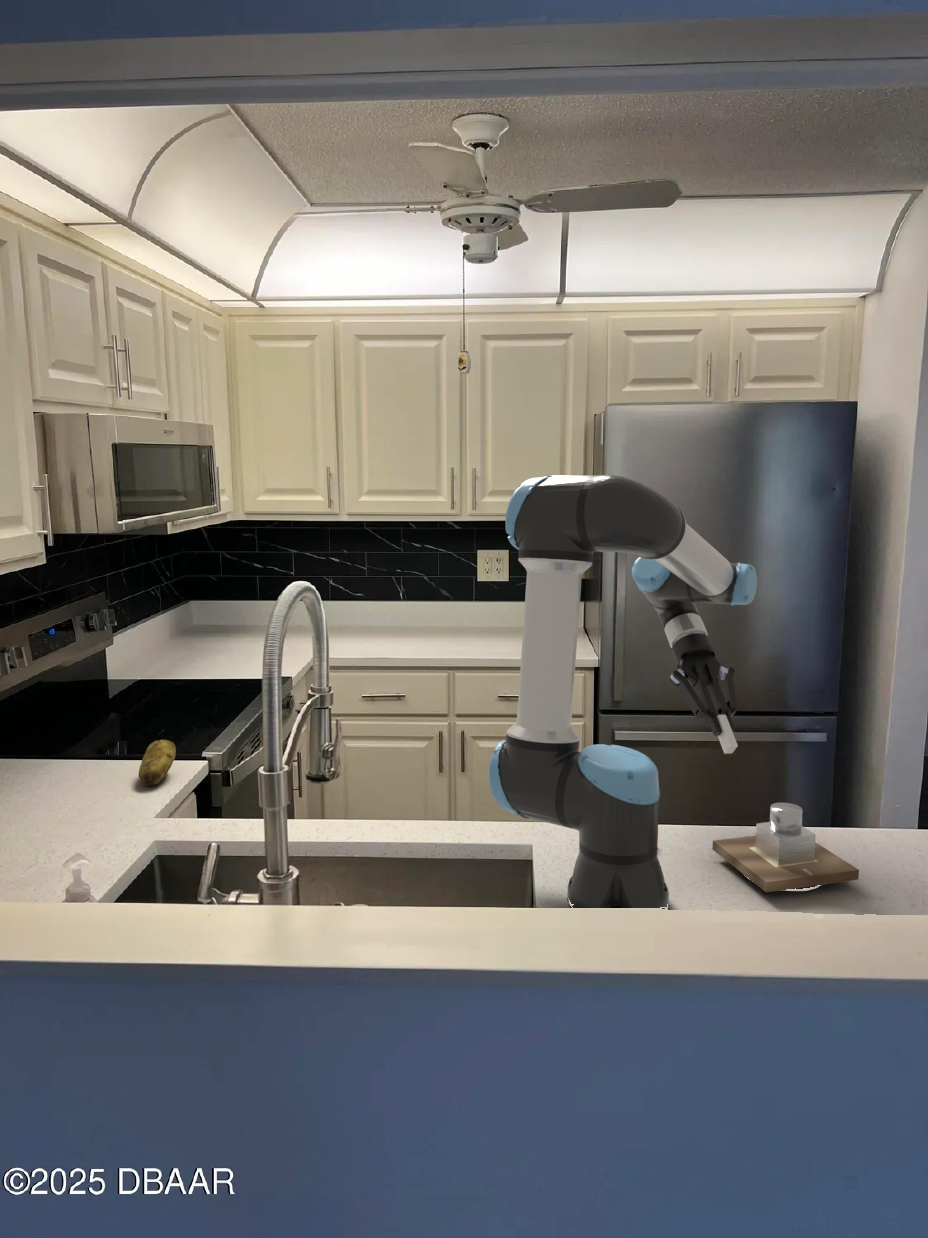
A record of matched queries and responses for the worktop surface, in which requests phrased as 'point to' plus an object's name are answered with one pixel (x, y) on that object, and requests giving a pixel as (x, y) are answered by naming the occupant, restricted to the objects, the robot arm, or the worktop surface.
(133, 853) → the worktop surface
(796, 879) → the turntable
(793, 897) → the worktop surface
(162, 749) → the potato
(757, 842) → the metal block with knob
